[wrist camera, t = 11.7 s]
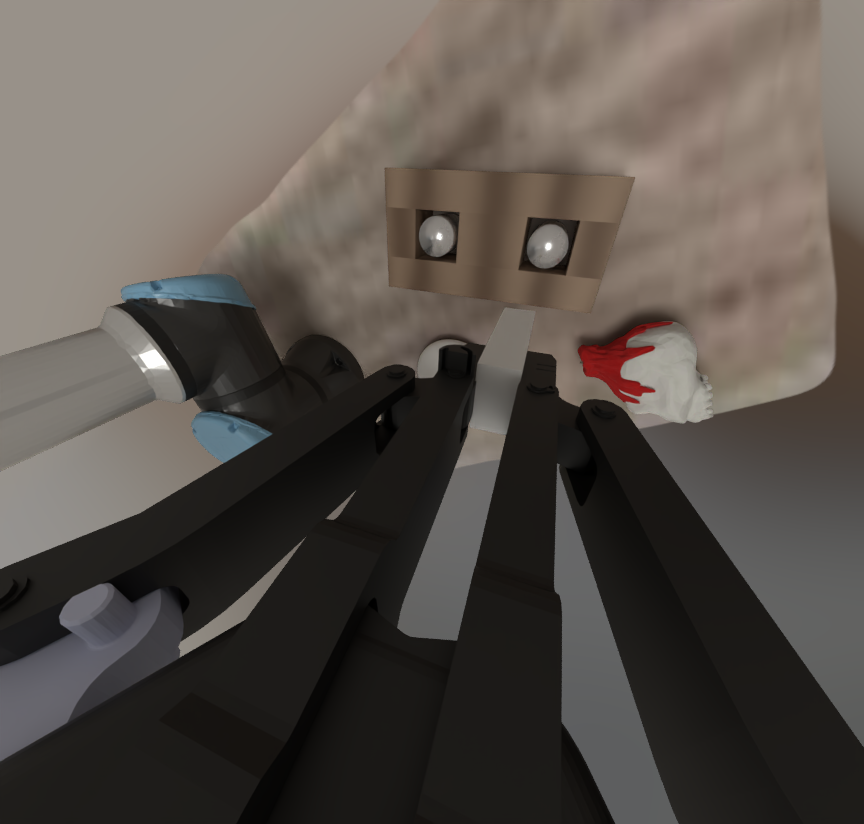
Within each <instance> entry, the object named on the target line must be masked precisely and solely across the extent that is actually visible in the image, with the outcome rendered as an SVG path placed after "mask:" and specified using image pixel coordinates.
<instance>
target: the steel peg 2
mask: <svg viewBox="0 0 864 824" xmlns="http://www.w3.org/2000/svg"><path fill="white" fill-rule="evenodd" d="M568 244H569V243H568V232H567V229H566V227H565V226H564V225H563V224H562V223H561V222H559V221H555V220H551V221H546V222H544V223H542V224H541V225H540V226H539V227H538V228H537V229H536V230H535V231H534V233H533V234H532V236H531V237H530V239H529V241H528V245H527V255H528V258H529V260H530V261H531V263H532V264H533V265H535V266H537V267H539V268H550V267H553V266H555V265H557V264H558V263H559V262H561V260H562V259H563V258H564V257H565V255H566V253H567V250H568Z"/></svg>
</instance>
